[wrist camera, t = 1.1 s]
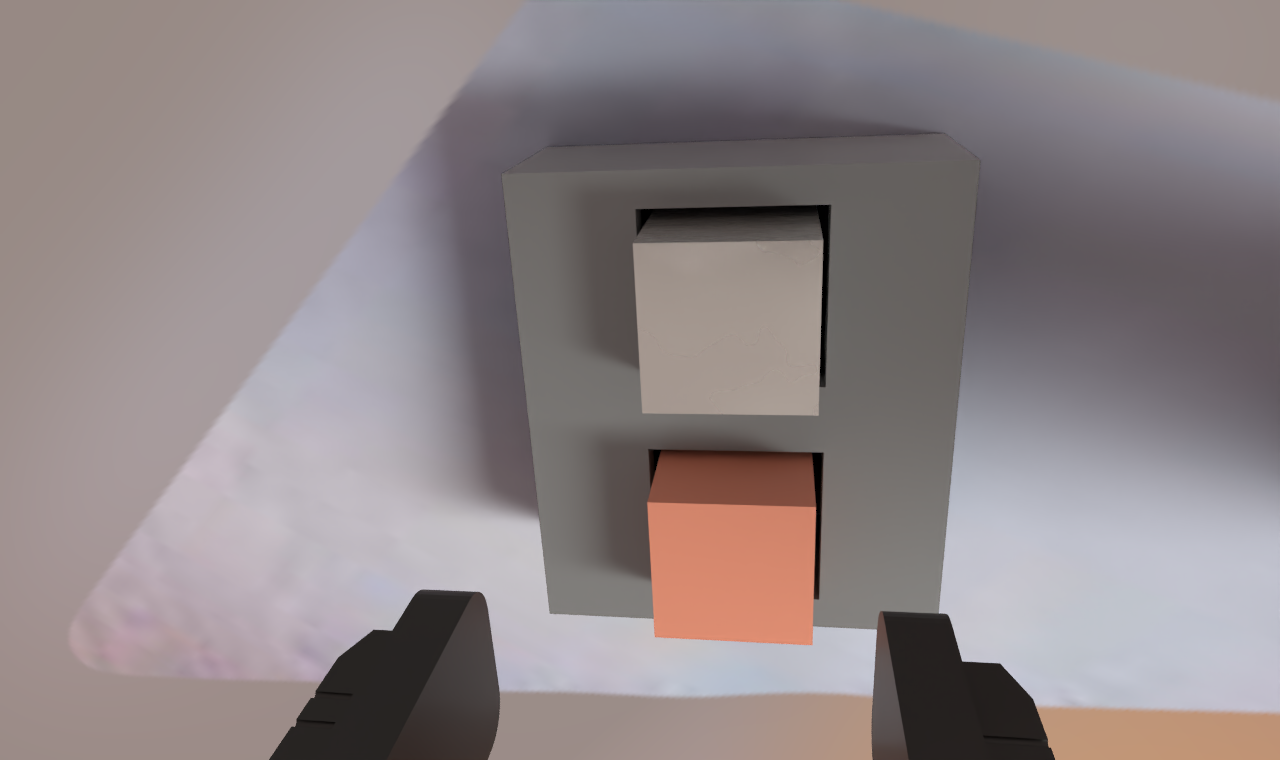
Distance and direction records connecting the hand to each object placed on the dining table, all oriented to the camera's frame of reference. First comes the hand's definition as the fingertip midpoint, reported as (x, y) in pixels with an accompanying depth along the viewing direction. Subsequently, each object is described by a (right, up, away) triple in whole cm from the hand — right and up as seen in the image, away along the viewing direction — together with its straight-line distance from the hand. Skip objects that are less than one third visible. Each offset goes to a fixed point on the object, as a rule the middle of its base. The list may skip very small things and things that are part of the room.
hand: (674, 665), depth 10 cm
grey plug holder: (+3, +4, +19) cm, 20 cm away
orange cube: (+3, 0, +18) cm, 18 cm away
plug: (+2, +6, +15) cm, 16 cm away
